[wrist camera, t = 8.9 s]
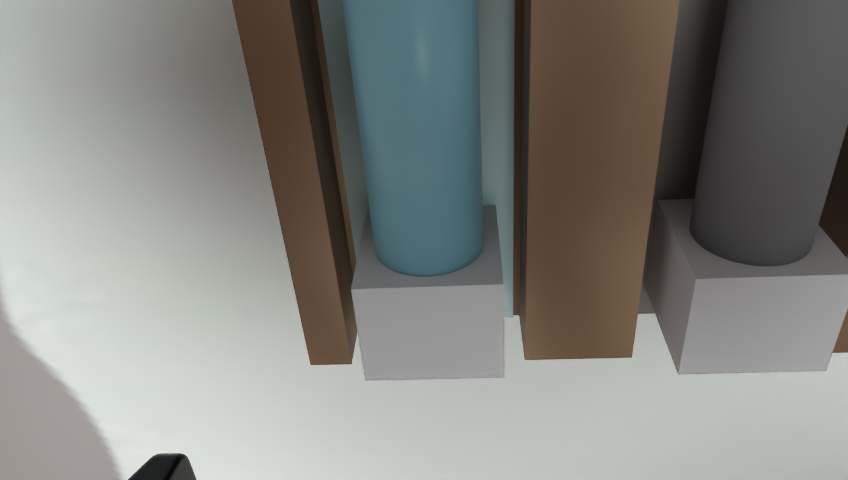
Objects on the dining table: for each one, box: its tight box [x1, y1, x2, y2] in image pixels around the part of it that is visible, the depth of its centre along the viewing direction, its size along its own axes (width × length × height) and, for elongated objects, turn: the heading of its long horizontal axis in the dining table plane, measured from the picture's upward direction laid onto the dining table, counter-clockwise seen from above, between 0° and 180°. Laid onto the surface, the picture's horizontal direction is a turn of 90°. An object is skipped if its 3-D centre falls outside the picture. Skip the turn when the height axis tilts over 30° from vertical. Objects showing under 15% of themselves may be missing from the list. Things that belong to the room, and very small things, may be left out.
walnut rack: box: [232, 0, 848, 365], centre depth 16 cm, size 15×17×3 cm
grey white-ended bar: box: [645, 0, 848, 374], centre depth 15 cm, size 15×4×4 cm, turn 4°
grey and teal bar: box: [342, 0, 504, 381], centre depth 15 cm, size 15×4×4 cm, turn 4°
